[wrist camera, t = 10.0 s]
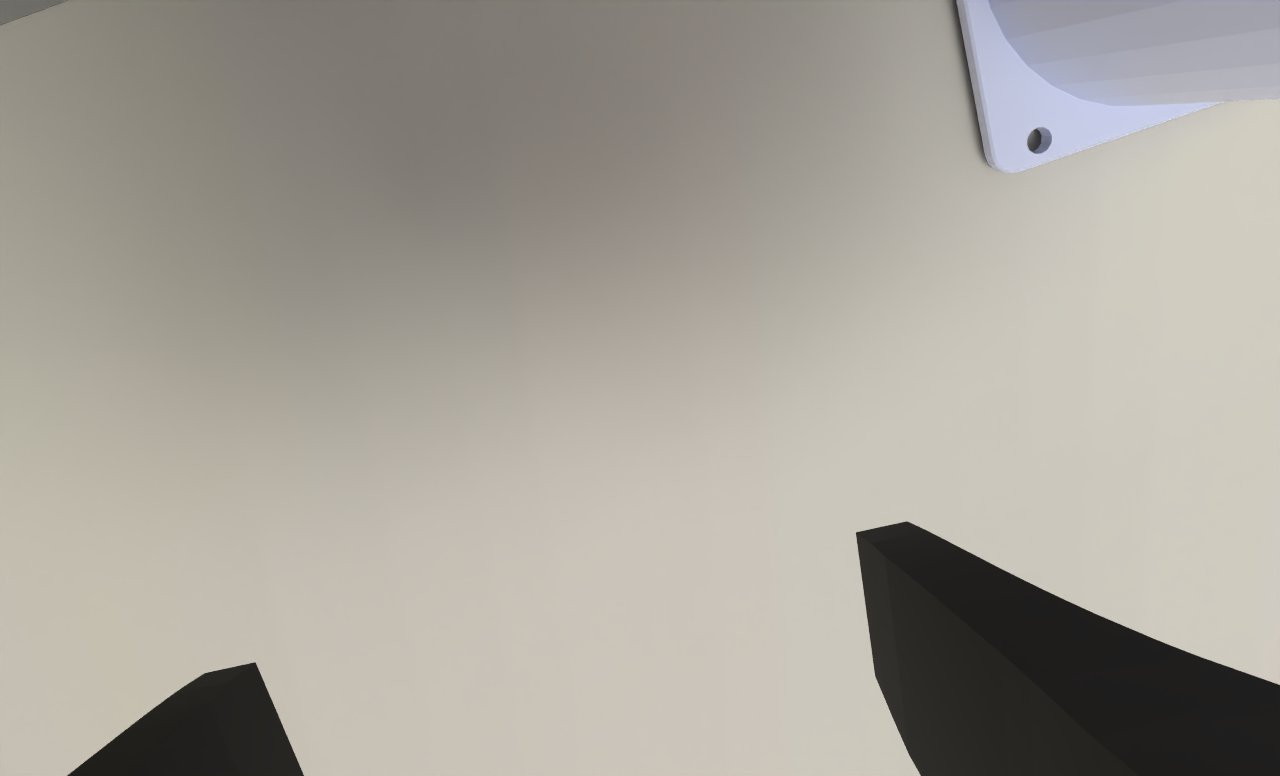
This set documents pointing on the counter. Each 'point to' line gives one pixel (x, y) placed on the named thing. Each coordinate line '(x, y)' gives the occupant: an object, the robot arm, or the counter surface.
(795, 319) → the counter surface
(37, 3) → the outlet box
